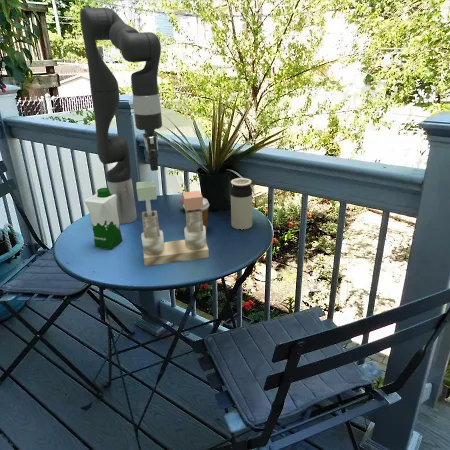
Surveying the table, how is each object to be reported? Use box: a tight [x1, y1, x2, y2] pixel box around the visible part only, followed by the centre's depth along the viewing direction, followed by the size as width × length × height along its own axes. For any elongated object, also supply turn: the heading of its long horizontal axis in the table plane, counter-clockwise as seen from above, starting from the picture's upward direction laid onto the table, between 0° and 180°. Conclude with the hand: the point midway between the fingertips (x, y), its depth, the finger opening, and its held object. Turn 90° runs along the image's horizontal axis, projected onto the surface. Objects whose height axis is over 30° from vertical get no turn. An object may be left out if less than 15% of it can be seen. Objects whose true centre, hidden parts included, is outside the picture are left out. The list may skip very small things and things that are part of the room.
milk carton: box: [84, 187, 123, 251], centre depth 139 cm, size 9×9×20 cm
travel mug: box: [230, 177, 253, 230], centre depth 149 cm, size 8×8×18 cm
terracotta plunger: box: [182, 190, 204, 211], centre depth 129 cm, size 6×6×11 cm
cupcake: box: [179, 184, 188, 206], centre depth 165 cm, size 9×8×12 cm
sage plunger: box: [135, 180, 158, 216], centre depth 125 cm, size 6×6×11 cm
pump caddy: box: [140, 209, 210, 267], centre depth 131 cm, size 21×9×16 cm, turn 102°
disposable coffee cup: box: [182, 197, 210, 230], centre depth 148 cm, size 10×10×12 cm
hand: (153, 165), depth 120 cm, fingers open, 8 cm apart
